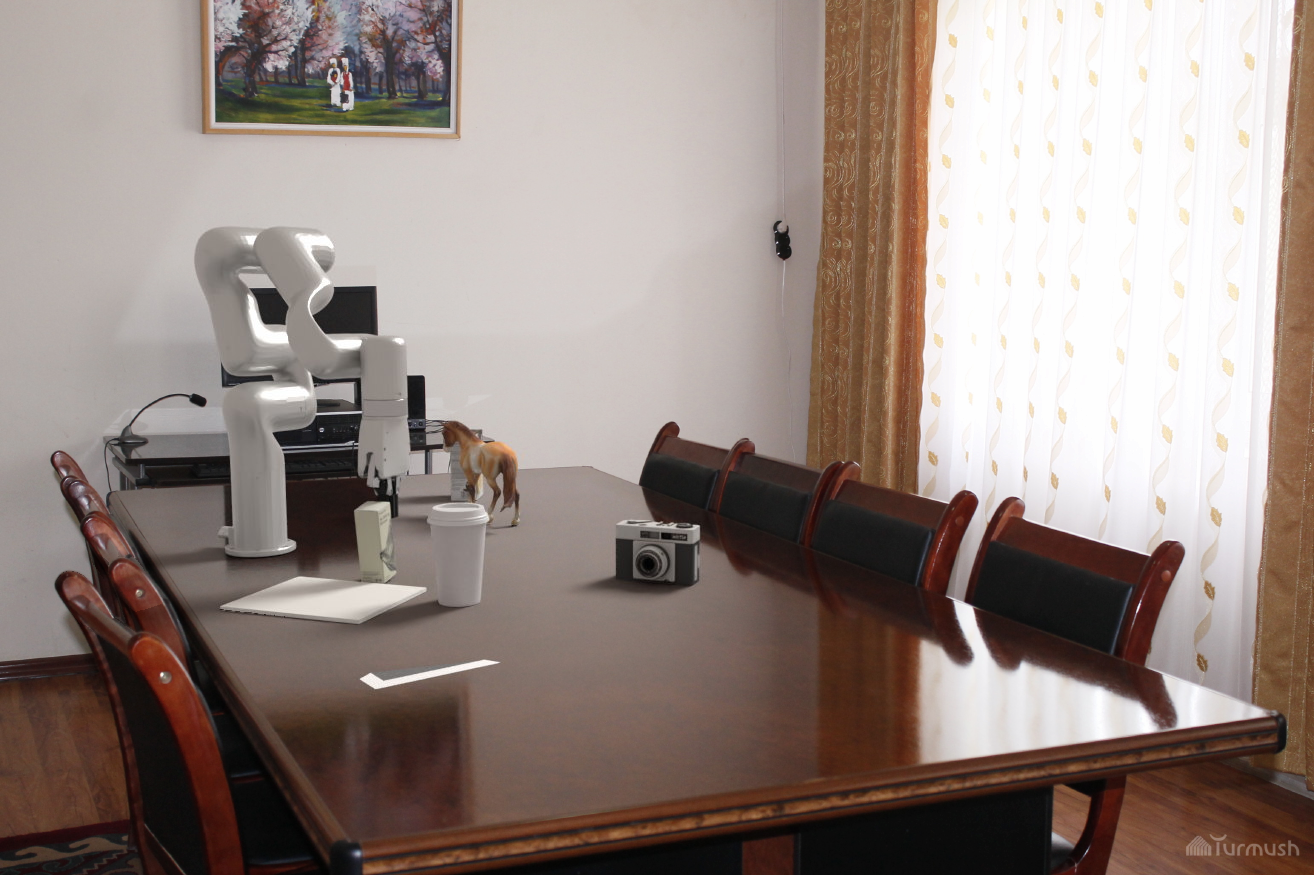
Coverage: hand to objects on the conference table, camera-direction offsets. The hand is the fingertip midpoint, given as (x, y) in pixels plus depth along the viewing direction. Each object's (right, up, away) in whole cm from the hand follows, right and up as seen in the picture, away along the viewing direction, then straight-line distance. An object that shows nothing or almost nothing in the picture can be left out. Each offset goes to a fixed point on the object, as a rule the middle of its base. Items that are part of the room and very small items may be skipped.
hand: (387, 517), depth 194 cm
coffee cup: (+15, -12, -15) cm, 24 cm away
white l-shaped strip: (+18, -16, -37) cm, 44 cm away
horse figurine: (+7, -5, +50) cm, 51 cm away
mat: (-6, -12, -14) cm, 20 cm away
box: (-1, -10, -1) cm, 10 cm away
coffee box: (0, -1, +79) cm, 79 cm away
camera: (+45, -11, -1) cm, 46 cm away
